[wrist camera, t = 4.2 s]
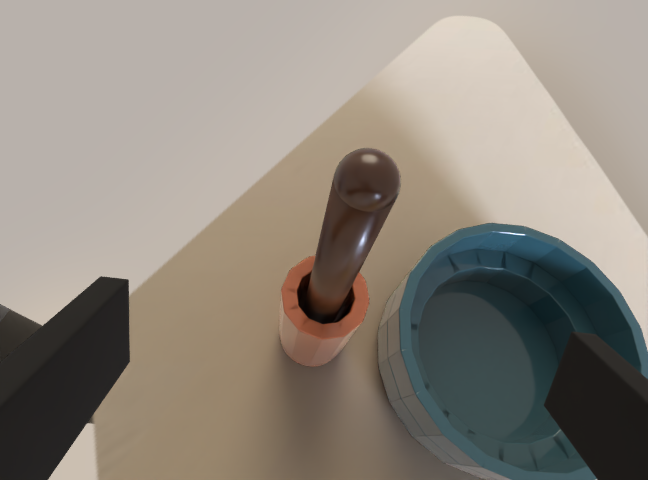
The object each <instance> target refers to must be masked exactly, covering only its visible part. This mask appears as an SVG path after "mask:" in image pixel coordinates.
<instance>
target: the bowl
mask: <svg viewBox="0 0 648 480" xmlns="http://www.w3.org/2000/svg"><path fill="white" fill-rule="evenodd" d="M571 332H581V333H590V334H596V335H597V336H598V337H600V338H601V339H602V340H603V341H604V342H605V343H607V344H608V345H609V346H610V347H611V348H612V349H613V350H615V351H616V352H617V353H618V354H619V355H620V356H622V357H623V358H624V359H625V360H626V361H627V362H628V363H630V364H631V365H632V366H633V367H634V368H635V369H637V370H638V371H639V372H640V373H641V374H642V375H643V376H645V377H646V378H647V379H648V351H647V347H646V344H645V340H644V337H643V333H642V330H641V328H640V325H639V324H638V322H637V320H636V318H635V317H634V315H633V313H632V311H631V310H630V308H629V306H628V304H627V303H626V301H625V299H624V297H623V296H622V294H621V292H619V290H618V289H617V288H616V286H615V285H614V284H613V283H612V282H611V281H610V280H609V279H608V278H607V277H606V276H605V275H604V274H603V272H602V271H601V270H600V269H599V268H598V267H597V266H596V265H595V264H594V263H593V262H591V260H589V259H588V258H586V257H585V256H583V255H582V254H581V253H579V252H578V251H576V250H575V249H573V248H572V247H570V246H569V245H567V244H566V243H564V242H563V241H561V240H559V239H558V238H555V237H552V236H550V235H547V234H544V233H542V232H539V231H536V230H534V229H531V228H529V227H525V226H518V225H508V224H497V223H487V224H482V225H478V226H473V227H468V228H463V229H459V230H456V231H455V232H453V233H451V234H450V235H448V236H446V237H445V238H443V239H442V240H440V241H438V242H437V243H435V244H433V245H432V246H430V247H429V248H428V250H427V251H426V252H425V253H424V255H423V256H422V257H421V258H420V260H419V261H418V262H417V263H416V265H415V266H414V267H413V268H412V269H411V271H410V272H409V273H408V274H407V276H406V277H405V278H404V279H403V281H402V282H401V283H400V285H399V286H398V287H397V289H396V290H395V291H394V292H393V294H392V295H391V296H390V298H389V299H388V301H387V304H386V307H385V310H384V313H383V316H382V319H381V322H380V325H379V328H378V365H379V366H378V367H379V370H380V373H381V377H382V380H383V383H384V386H385V390H386V393H387V396H388V399H389V402H390V404H391V406H392V407H393V409H394V410H395V412H396V413H397V415H398V416H399V418H400V419H401V421H402V422H403V424H404V425H405V427H406V428H407V430H408V431H409V433H410V434H411V436H412V437H413V438H415V439H416V440H417V441H418V442H419V443H420V444H422V445H423V446H424V447H425V448H426V449H427V450H429V451H430V452H431V453H432V454H433V455H435V456H436V457H437V458H438V459H439V460H440V461H442V462H443V463H445V464H447V465H450V466H452V467H455V468H457V469H459V470H462V471H464V472H467V473H469V474H471V475H474V476H476V477H479V478H484V479H490V480H596V479H597V478H596V477H595V475H594V474H593V473H592V471H591V470H590V469H589V467H588V466H587V464H586V463H585V462H584V460H583V459H582V458H581V456H580V455H579V453H578V452H577V451H576V449H575V448H574V446H573V445H572V444H571V442H570V441H569V440H568V438H567V437H566V435H565V434H564V433H563V431H562V430H561V429H560V427H559V426H558V424H557V423H556V422H555V420H554V419H553V418H552V416H551V415H550V413H549V412H548V411H547V409H546V408H545V406H544V403H545V400H546V398H547V395H548V393H549V390H550V387H551V385H552V382H553V379H554V377H555V374H556V371H557V369H558V366H559V364H560V361H561V358H562V356H563V353H564V350H565V348H566V345H567V342H568V340H569V337H570V335H571Z"/></svg>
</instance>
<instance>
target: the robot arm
mask: <svg viewBox="0 0 648 480" xmlns="http://www.w3.org/2000/svg"><path fill="white" fill-rule="evenodd" d="M128 282H129V281H128V280H127V279H119V278H110V277H100V278H98V279H97V280H96V281H95V282H94V283H92V284H91V285H90V286H89V287H88V288H87V289H85V290H84V291H83V292H82V293H81V294H80V295H78V296H77V297H76V298H75V299H74V300H73V301H71V302H70V303H69V304H68V305H67V306H65V307H64V308H63V309H62V310H61V311H60V312H58V313H57V314H56V315H55V316H54V317H53V318H51V319H50V320H49V321H48V322H47V323H46V324H44V325H43V326H42V327H41V328H40V329H38V330H37V331H36V332H35V333H34V334H33V335H31V336H30V337H29V338H28V339H27V340H26V341H24V342H23V343H22V344H21V345H20V346H19V347H17V348H16V349H15V350H14V351H13V352H11V353H10V354H9V355H8V356H7V357H6V358H4V359H3V360H2V361H1V362H0V480H48V479H49V477H50V476H51V474H52V473H53V471H54V470H55V468H56V467H57V466H58V464H59V463H60V461H61V460H62V458H63V457H64V456H65V454H66V453H67V451H68V450H69V448H70V447H71V445H72V444H73V443H74V441H75V440H76V438H77V437H78V435H79V434H80V432H81V431H82V430H83V428H84V427H85V425H86V424H87V422H88V421H89V420H90V418H91V417H92V415H93V414H94V412H95V411H96V409H97V408H98V407H99V405H100V404H101V402H102V401H103V399H104V398H105V397H106V395H107V394H108V392H109V391H110V389H111V388H112V386H113V385H114V384H115V382H116V381H117V379H118V378H119V376H120V375H121V373H122V372H123V371H124V369H125V368H126V366H127V365H128V363H129V362H130V351H129V285H128V284H129V283H128ZM544 406H545V408H546V409H547V411H548V412H549V413H550V415H551V416H552V418H553V419H554V420H555V422H556V423H557V424H558V426H559V427H560V429H561V430H562V431H563V433H564V434H565V435H566V437H567V438H568V440H569V441H570V442H571V444H572V445H573V446H574V448H575V449H576V451H577V452H578V453H579V455H580V456H581V458H582V459H583V460H584V462H585V463H586V464H587V466H588V467H589V469H590V470H591V471H592V473H593V474H594V475H595V477H596V478H597V480H648V379H647V378H646V377H645V376H643V375H642V374H641V373H640V372H639V371H638V370H637V369H635V368H634V367H633V366H632V365H631V364H630V363H628V362H627V361H626V360H625V359H624V358H623V357H622V356H620V355H619V354H618V353H617V352H616V351H615V350H613V349H612V348H611V347H610V346H609V345H608V344H607V343H605V342H604V341H603V340H602V339H601V338H600V337H598V336H597V335H596V334H590V333H581V332H571V335H570V337H569V340H568V342H567V345H566V348H565V350H564V353H563V356H562V358H561V361H560V364H559V366H558V369H557V371H556V374H555V377H554V379H553V382H552V385H551V387H550V390H549V393H548V395H547V398H546V400H545V403H544Z"/></svg>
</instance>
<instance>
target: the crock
mask: <svg viewBox="0 0 648 480" xmlns="http://www.w3.org/2000/svg"><path fill="white" fill-rule="evenodd" d="M314 260H315V256H309V257H307V258H306V259H304V260H303V261H301V262H300V263H299V264H297V265H296V266H294V267H293V268H291V270H290V271H289V273H288V275H287V277H286V280H285V282H284V284H283V286H282V289H281V302H280V320H279V331H280V341H281V345H282V347H283V349H284V351H285V353H286V354H287V355H288V356H289V357H290V358H291V359H292V360H293V361H295V362H297V363H299V364H301V365H304V366H320V365H323V364H325V363H327V362H329V361H330V360H332V359H333V358H334V357H335V356H336V355H337V354H338V353H339V352H340V351H341V350H342V348H343V347H344V346H345V344H346V343H347V342H348V340H349V339H350V338H351V336H352V335H353V334H354V332H355V331H356V330H357V328H358V327H359V326H360V325H361V323H362V322H363V320H364V317H365V314H366V311H367V308H368V305H369V300H370V299H369V295H368V290H367V285H366V281H365V280H364V278H363V276H362V275H361V274H360V273H358V275H357V277H356V279H355V281H354V283H353V285H352V287H351V289H350V290H349V292H348V294H347V296H346V298H345V300H344V302H343V304H342V306H341V308H340V310H339V312H338V314H337V316H336V318H335V320H334V322H333V323H326V324H321V323H319V322H317V321H314V320H312V319H309V318H308V317H307V316H306V315H305V313H304V312H303V308H304V303H305V299H306V295H307V290H308V286H309V282H310V277H311V273H312V269H313V265H314Z"/></svg>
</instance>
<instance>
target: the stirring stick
mask: <svg viewBox="0 0 648 480" xmlns="http://www.w3.org/2000/svg"><path fill="white" fill-rule="evenodd" d="M400 186H401V176H400V172H399V169H398V167H397V165H396V163H395V162H394V160H393V159H392V158H391V157H390V156H389V155H387V154H386V153H384V152H382V151H380V150H377V149H372V148H362V149H358V150H355V151H353V152H351V153H349V154H348V155H346V156H345V157H344V158H343V159H342V161H341V162H340V163H339V165H338V166H337V169H336V171H335V174H334V178H333V182H332V187H331V191H330V195H329V200H328V204H327V208H326V213H325V217H324V221H323V226H322V230H321V234H320V239H319V243H318V247H317V252H316V256H315V260H314V265H313V269H312V273H311V277H310V282H309V286H308V290H307V295H306V299H305V303H304V308H303V312H304V313H305V315H306V316H307V317H308V318H309V319H312V320H314V321H317V322H319V323H321V324H326V323H333V322H334V320H335V318H336V316H337V314H338V312H339V310H340V308H341V306H342V304H343V302H344V300H345V298H346V296H347V294H348V292H349V290H350V289H351V287H352V285H353V283H354V281H355V279H356V277H357V275H358V273H359V271H360V269H361V267H362V265H363V263H364V261H365V259H366V257H367V255H368V253H369V251H370V249H371V247H372V245H373V243H374V241H375V240H376V238H377V236H378V234H379V232H380V230H381V228H382V226H383V224H384V222H385V220H386V218H387V216H388V214H389V212H390V210H391V208H392V206H393V204H394V202H395V200H396V198H397V196H398V194H399V191H400Z"/></svg>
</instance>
